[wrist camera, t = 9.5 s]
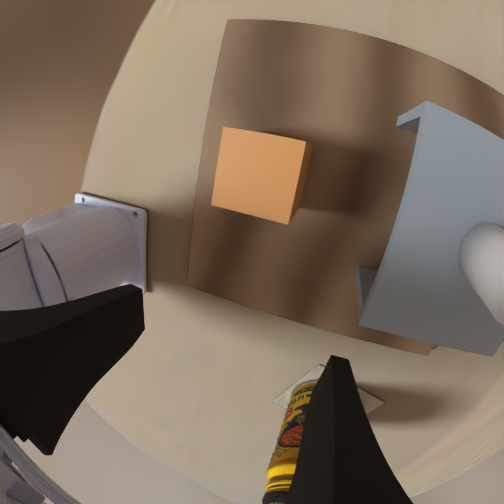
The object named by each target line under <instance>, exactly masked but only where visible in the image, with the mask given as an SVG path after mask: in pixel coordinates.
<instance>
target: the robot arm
mask: <svg viewBox="0 0 504 504" xmlns="http://www.w3.org/2000/svg"><path fill="white" fill-rule="evenodd" d="M136 212H137V215H138V216H137V215H136ZM146 232H147V213H146V211H145V210H144V209H141V208H137V207H133V206H130V205H126V204H122V203H118V202H114V201H110V200H107V199H103V198H99V197H95V196H91V195H87V194H83V193H77V194H76V195H75V203H74V204H71V205H68V206H65V207H62V208H59V209H56V210H53V211H50V212H48V213H45V214H42V215H39V216H36V217H34V218H32V219H30V220H28V221H27V222H26V223H25V224H24V225H23V226H19V225H18V224H17V223H15V222H9V223H5V224H2V225H0V504H46V503H45V502H44V500H45V496H46V497H47V498H49V499H50V500H51V501H52V502H53V503H54V504H81V503H79V502H78V501H77V500H75V499H74V498H73V497H71V496H70V495H69V494H68V493H67V492H66V491H64V490H63V489H62V488H61V487H60V486H59V485H57V484H56V483H55V482H54V481H53V480H52V479H51V478H50V477H49V476H47V475H46V474H45V473H44V472H43V471H42V470H41V469H40V468H39V467H38V466H37V465H36V464H35V463H34V462H33V461H32V460H31V459H30V458H29V457H28V456H27V454H25V452H24V451H23V450H22V449H21V448H20V447H19V445H18V444H17V443H16V442H15V441H14V440H13V439H14V438H15V437H16V436H18V437H19V438H20V439H21V440H22V441H23V442H25V441H26V440H27V439H29V440H30V441H31V442H32V443H33V444H34V445H35V446H36V447H37V448H38V449H39V450H40V451H41V452H42V453H43V454H44V455H52V454H53V451H54V449H55V446H56V445H57V442H58V440H59V439H60V436H61V434H62V433H63V431H64V429H65V427H66V426H67V424H68V422H69V421H70V419H71V417H72V416H73V414H74V413H75V411H76V410H77V408H78V407H79V405H80V404H81V402H82V401H83V400H84V398H85V397H86V396H87V394H88V393H89V392H90V390H91V389H92V388H93V387H94V386H95V384H96V383H97V382H98V381H99V380H100V379H101V378H102V377H103V376H104V375H105V374H106V373H107V372H108V371H109V370H110V369H111V368H112V367H113V366H114V365H115V364H116V363H117V362H118V361H119V360H120V359H121V358H122V357H123V356H124V355H125V354H126V353H127V352H128V351H129V349H130V348H131V347H132V346H133V345H134V343H135V342H136V341H137V339H138V338H139V337H140V335H141V334H142V332H143V331H144V330H145V325H144V310H143V294H144V293H145V292H146ZM120 285H122V286H120ZM118 286H119V287H118ZM12 461H13V463H14V464H15V465H16V466H17V467H18V468H19V469H20V471H21V472H22V473H23V474H24V475H23V474H22V473H21V472H20V471H19V470H18V469H16V468H15V467H14V466H13V465H12ZM42 493H43V494H44V495H45V496H44V495H43V494H42ZM284 504H413V503H412V501H411V500H410V499H409V497H408V496H407V494H406V493H405V491H404V490H403V488H402V486H401V485H400V483H399V482H398V480H397V479H396V477H395V476H394V474H393V472H392V470H391V468H390V467H389V465H388V463H387V461H386V459H385V457H384V455H383V453H382V451H381V449H380V447H379V445H378V442H377V440H376V438H375V435H374V433H373V430H372V428H371V426H370V423H369V420H368V418H367V415H366V412H365V409H364V407H363V404H362V401H361V398H360V395H359V392H358V389H357V385H356V382H355V379H354V376H353V372H352V369H351V365H350V362H349V360H348V359H345V358H341V357H337V356H333V355H331V357H330V359H329V361H328V363H327V364H326V366H325V368H324V370H323V372H322V374H321V376H320V378H319V380H318V382H317V384H316V385H315V387H314V389H313V391H312V394H311V397H310V401H309V404H308V408H307V412H306V415H305V420H304V426H303V432H302V437H301V443H300V448H299V453H298V458H297V463H296V468H295V472H294V476H293V479H292V482H291V485H290V488H289V490H288V493H287V496H286V499H285V501H284Z"/></svg>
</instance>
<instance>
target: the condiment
mask: <svg viewBox="0 0 504 504" xmlns="http://www.w3.org/2000/svg"><path fill="white" fill-rule="evenodd" d="M324 368H325V367H323V366H321V365H318V366H316V367H315V368H314V369H313V370H311V371H310V372H309V373H308V374H306V375H305V376H304V377H302V378H301V379H300V380H299V381H297V382H296V383H295V384H294V385H292V386H291V387H290V388H289V389H287V390H286V391H285V392H284V393H282V394H281V395H280V396H279V397H277V398H276V399H275V400H273V401H272V402H273V403H275V404H277V405H279V406H281V407H283V408H285V409H287V411H286V413H285V418H284V421H283V424H282V426H281V431H280V434H279V437H278V438H277V444H276V447H275V451H274V452H273V454H272V457H271V462H270V464H269V467H268V471H267V475H268V478H269V481H270V482H269V483H268V484H267V486H266V492H265V495H264V497H263V499H262V503H263V504H284V501H285V499H286V496H287V493H288V490H289V488H290V485H291V482H292V479H293V476H294V472H295V468H296V463H297V458H298V453H299V448H300V443H301V437H302V432H303V426H304V420H305V415H306V412H307V408H308V404H309V401H310V397H311V394H312V391H313V389H314V387H315V385H316V384H317V382H318V380H319V378H320V376H321V374H322V372H323V370H324ZM357 389H358V392H359V395H360V398H361V401H362V404H363V407H364V409H365V412H366V415H367V414H368V413H370V412H371V411H373V410H374V409H376V408H378V407H379V406H381V405H382V404H384V403H385V402H383V401H381V400H379V399H377V398H376V397H374V396H371V395H370V394H368V393H367V392H364V391H363V390H361V389H360V388H358V387H357Z"/></svg>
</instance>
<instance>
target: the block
mask: <svg viewBox="0 0 504 504" xmlns="http://www.w3.org/2000/svg"><path fill="white" fill-rule="evenodd" d="M313 145H314V144H312V143H309V142H306V141H301V140H297V139H292V138H287V137H282V136H277V135H272V134H266V133H261V132H255V131H249V130H242V129H235V128H228V127H223V131H222V137H221V143H220V149H219V155H218V162H217V168H216V175H215V182H214V189H213V196H212V203H211V205H213V206H217V207H221V208H225V209H229V210H233V211H237V212H241V213H245V214H249V215H253V216H257V217H260V218H264V219H268V220H272V221H276V222H279V223H283V224H287V225H288V224H289V223H290V221H291V220H292V218H293V217H294V216H295V214H296V213H297V211H298V210H299V208H300V204H301V200H302V196H303V191H304V187H305V182H306V178H307V173H308V169H309V164H310V159H311V155H312V150H313Z"/></svg>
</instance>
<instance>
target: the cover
mask: <svg viewBox="0 0 504 504" xmlns="http://www.w3.org/2000/svg"><path fill="white" fill-rule="evenodd" d="M396 127H399V128H402V129H405V130H408V131H410V132H413V133H416V134H417V139H416V144H415V149H414V153H413V158H412V162H411V167H410V171H409V175H408V179H407V183H406V186H405V190H404V194H403V197H402V201H401V204H400V208H399V211H398V214H397V218H396V221H395V224H394V227H393V230H392V233H391V236H390V239H389V242H388V245H387V248H386V251H385V254H384V256H383V259H382V262H381V264H380V267H379V270H378V271H375V270H372V269H369V268H365V267H362V266H359V265H358V268H357V270H356V273H355V276H356V288H357V302H358V320H359V325H361V326H364V327H368V328H372V329H376V330H380V331H383V332H387V333H391V334H395V335H399V336H403V337H407V338H411V339H415V340H419V341H424V342H428V343H432V344H436V345H441V346H445V347H450V348H454V349H459V350H463V351H468V352H473V353H478V354H483V355H488V356H493V355H494V353H495V352H496V350H497V349H498V347H499V346H500V344H501V343H502V341H503V340H504V140H503V139H501V138H500V137H498V136H496V135H495V134H493V133H491V132H490V131H488V130H486V129H485V128H483V127H481V126H479V125H477V124H475V123H474V122H472V121H470V120H468V119H466V118H464V117H462V116H460V115H458V114H456V113H454V112H452V111H450V110H447V109H445V108H443V107H441V106H438V105H436V104H434V103H431V102H429V101H425V102H424V103H422V104H420V105H418V106H416V107H415V108H413V109H411V110H409V111H408V112H406V113H404V114H402V115H401V116H399V117H398V120H397V125H396Z"/></svg>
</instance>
